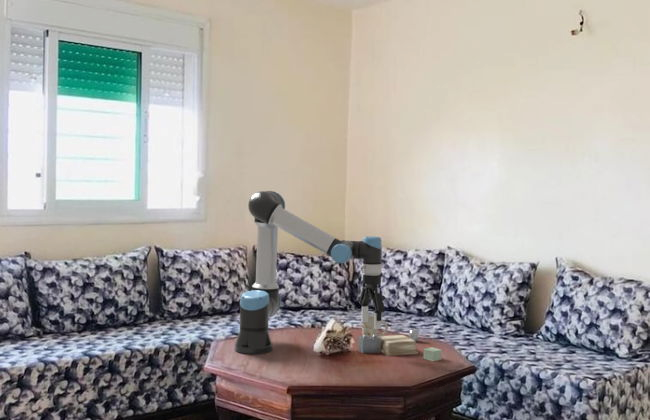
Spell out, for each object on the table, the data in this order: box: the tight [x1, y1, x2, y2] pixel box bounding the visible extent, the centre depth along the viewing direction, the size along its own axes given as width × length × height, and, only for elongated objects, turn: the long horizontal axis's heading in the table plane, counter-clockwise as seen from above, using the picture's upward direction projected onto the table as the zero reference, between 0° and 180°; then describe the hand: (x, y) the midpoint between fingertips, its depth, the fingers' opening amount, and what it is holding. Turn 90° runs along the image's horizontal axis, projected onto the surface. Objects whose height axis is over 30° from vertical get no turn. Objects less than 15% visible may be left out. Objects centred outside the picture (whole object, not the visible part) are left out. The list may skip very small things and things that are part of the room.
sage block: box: [423, 347, 442, 362], centre depth 264 cm, size 5×5×4 cm
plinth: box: [379, 334, 419, 357], centre depth 275 cm, size 14×14×5 cm
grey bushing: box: [408, 328, 420, 343], centre depth 292 cm, size 4×4×5 cm
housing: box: [357, 334, 382, 354], centre depth 273 cm, size 5×8×7 cm, turn 110°
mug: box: [360, 315, 389, 336], centre depth 294 cm, size 8×13×10 cm, turn 107°
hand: (371, 325), depth 273 cm, fingers open, 13 cm apart
